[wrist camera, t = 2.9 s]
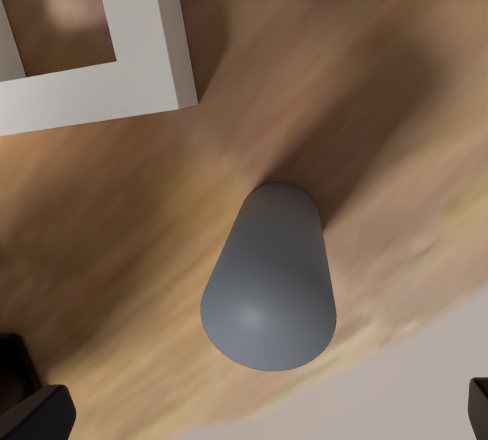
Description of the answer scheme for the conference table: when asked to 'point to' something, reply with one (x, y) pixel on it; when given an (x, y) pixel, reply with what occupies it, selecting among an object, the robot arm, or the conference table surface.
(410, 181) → the conference table surface
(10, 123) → the socket block
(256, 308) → the peg
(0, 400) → the robot arm
